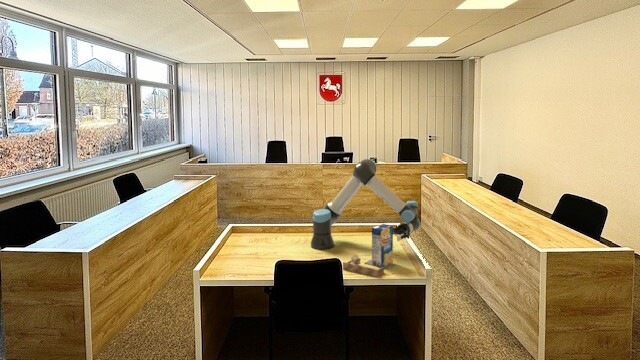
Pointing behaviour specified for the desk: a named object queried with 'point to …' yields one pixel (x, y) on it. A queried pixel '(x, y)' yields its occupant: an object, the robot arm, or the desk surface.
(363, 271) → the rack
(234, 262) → the desk surface
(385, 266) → the pad
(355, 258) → the offcut top
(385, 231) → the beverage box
